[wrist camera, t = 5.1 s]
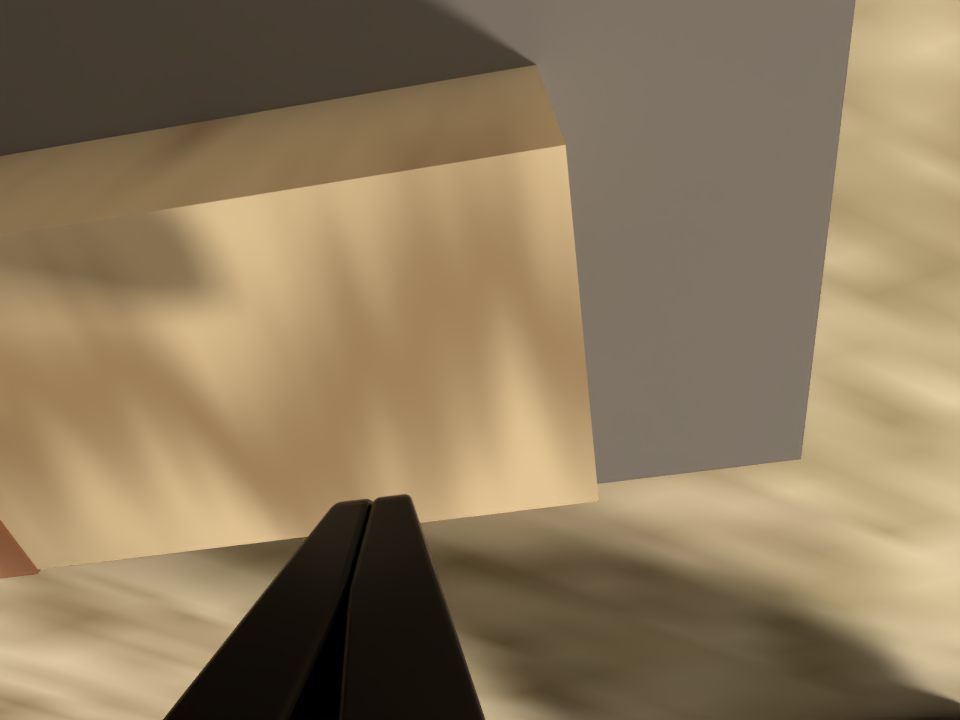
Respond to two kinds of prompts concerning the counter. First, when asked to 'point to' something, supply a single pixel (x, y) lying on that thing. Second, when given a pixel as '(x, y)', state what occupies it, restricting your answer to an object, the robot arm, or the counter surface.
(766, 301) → the rubber mat
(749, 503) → the counter surface
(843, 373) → the counter surface
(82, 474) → the birch block
